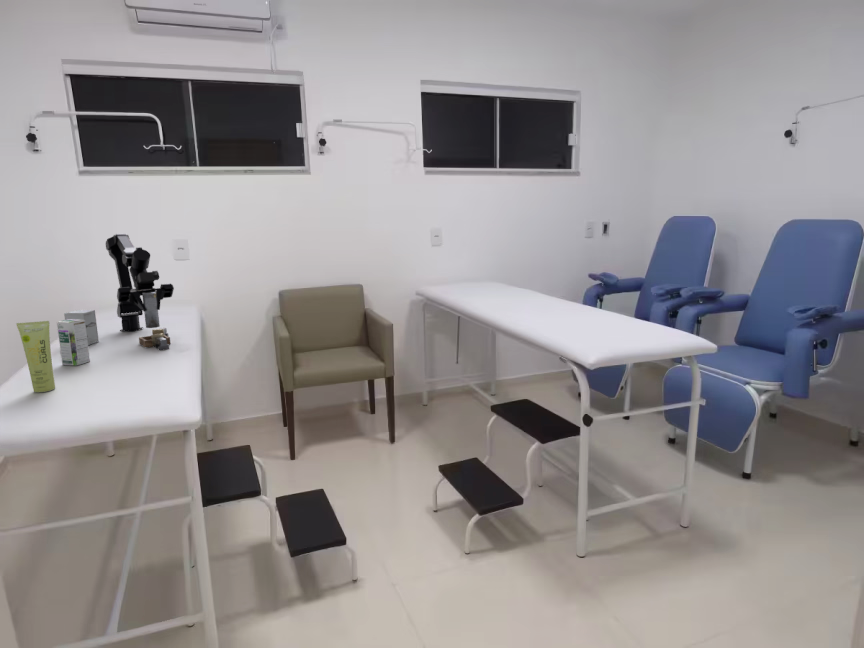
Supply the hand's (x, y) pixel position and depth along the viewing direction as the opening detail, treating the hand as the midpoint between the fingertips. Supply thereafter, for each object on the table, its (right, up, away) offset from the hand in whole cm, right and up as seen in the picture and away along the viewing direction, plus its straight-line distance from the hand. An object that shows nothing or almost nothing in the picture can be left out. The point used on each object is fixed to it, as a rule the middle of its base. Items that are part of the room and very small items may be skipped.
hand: (152, 310), depth 200 cm
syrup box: (-13, -18, -23) cm, 32 cm away
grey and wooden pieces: (+1, -12, +5) cm, 14 cm away
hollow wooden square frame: (-1, -13, +4) cm, 13 cm away
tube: (-4, -24, -50) cm, 56 cm away
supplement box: (-28, -13, +5) cm, 31 cm away
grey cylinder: (-1, -6, +2) cm, 7 cm away
